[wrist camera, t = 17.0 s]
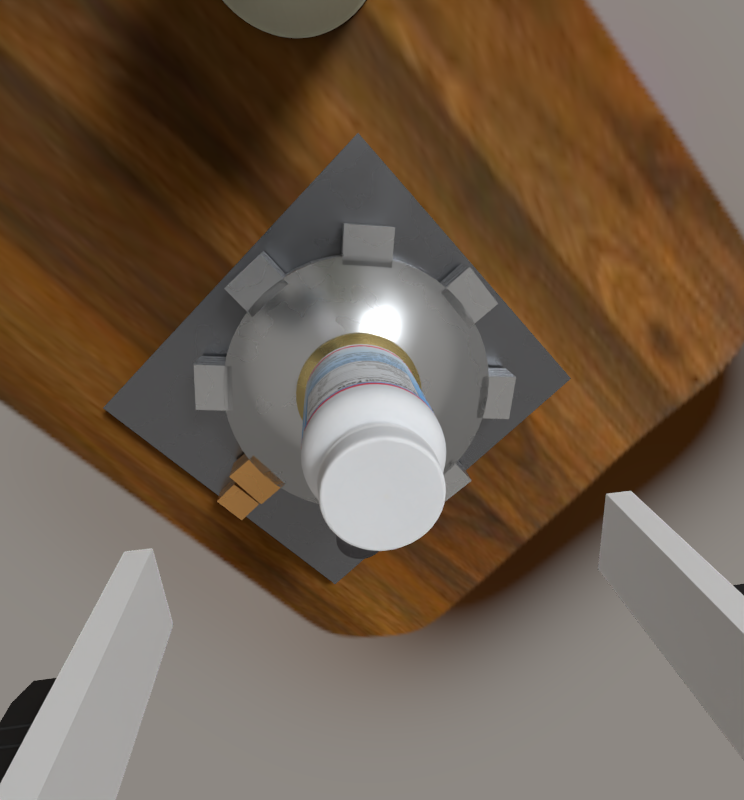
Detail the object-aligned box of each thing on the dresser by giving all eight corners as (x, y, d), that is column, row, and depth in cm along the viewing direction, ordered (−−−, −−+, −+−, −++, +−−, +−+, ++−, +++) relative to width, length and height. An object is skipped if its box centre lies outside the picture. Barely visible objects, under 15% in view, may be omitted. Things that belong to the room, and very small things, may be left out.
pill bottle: (400, 450, 31) (442, 578, 20) (296, 433, 30) (283, 558, 19) (426, 351, 29) (489, 436, 18) (316, 329, 28) (314, 405, 17)
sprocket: (207, 512, 33) (176, 597, 26) (194, 212, 27) (148, 214, 20) (481, 514, 35) (524, 594, 28) (527, 235, 29) (596, 245, 22)
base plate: (109, 402, 32) (94, 415, 30) (356, 135, 28) (359, 129, 26) (334, 574, 37) (335, 596, 35) (563, 373, 34) (579, 384, 32)
